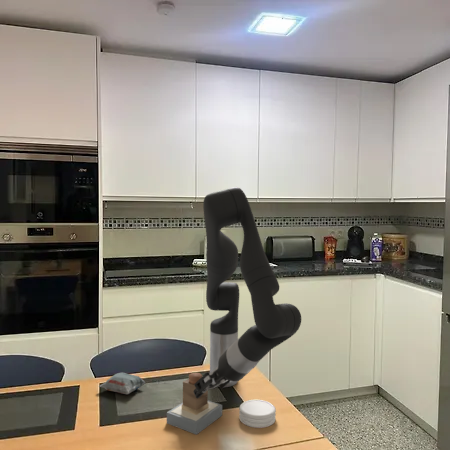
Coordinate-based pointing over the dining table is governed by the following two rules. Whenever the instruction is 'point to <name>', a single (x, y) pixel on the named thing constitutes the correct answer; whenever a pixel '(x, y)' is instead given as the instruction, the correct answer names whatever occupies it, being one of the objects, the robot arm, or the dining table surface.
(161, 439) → the dining table surface
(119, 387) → the packaged food
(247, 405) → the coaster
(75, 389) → the dining table surface
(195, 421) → the dock
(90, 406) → the dining table surface
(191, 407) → the dome-topped square block
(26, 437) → the dining table surface
